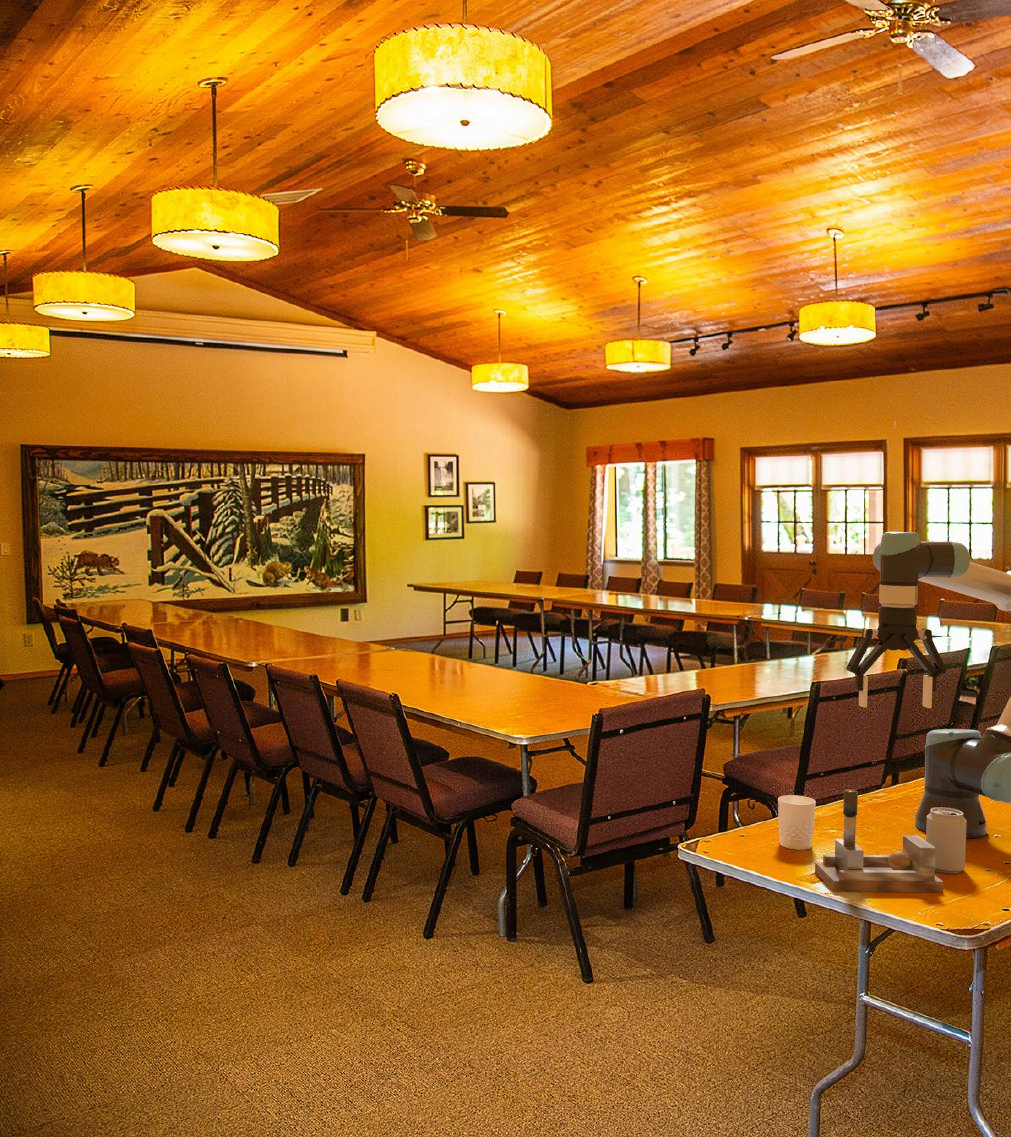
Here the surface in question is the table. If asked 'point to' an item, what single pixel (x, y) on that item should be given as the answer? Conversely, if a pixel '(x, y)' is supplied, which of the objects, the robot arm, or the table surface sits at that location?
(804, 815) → the white cup
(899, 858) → the tan ball
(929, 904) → the table surface
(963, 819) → the can
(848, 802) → the ram
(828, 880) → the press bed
